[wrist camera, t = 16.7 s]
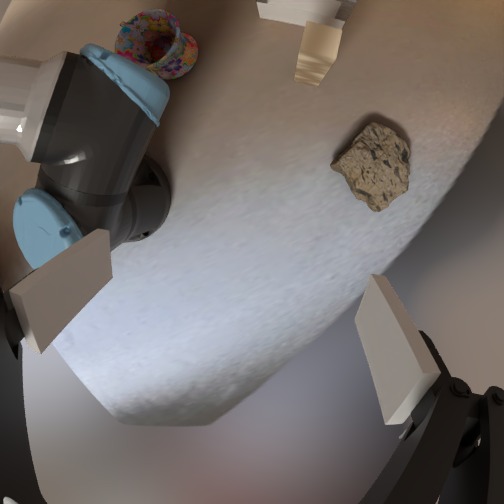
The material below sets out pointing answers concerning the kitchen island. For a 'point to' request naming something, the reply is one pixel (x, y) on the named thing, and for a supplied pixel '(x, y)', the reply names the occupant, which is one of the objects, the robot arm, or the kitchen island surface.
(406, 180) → the rock
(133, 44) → the mug
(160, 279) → the kitchen island surface
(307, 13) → the box
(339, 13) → the frame
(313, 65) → the tall wooden block
